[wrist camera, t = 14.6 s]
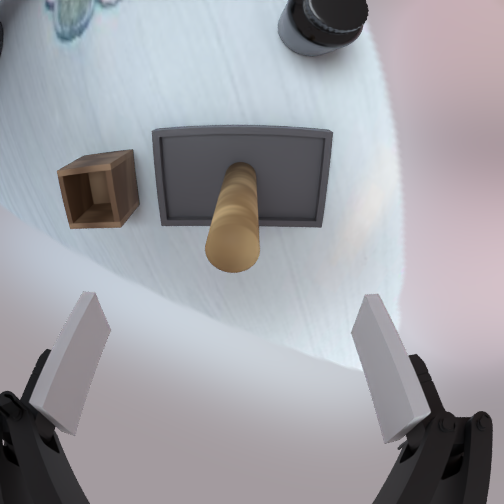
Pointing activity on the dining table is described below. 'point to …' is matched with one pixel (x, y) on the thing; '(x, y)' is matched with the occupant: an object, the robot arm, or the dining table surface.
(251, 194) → the dowel
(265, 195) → the tray
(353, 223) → the dining table surface
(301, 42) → the supplement bottle
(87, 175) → the box
